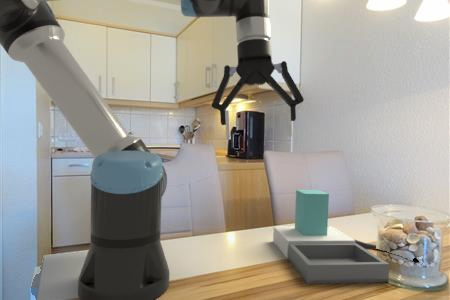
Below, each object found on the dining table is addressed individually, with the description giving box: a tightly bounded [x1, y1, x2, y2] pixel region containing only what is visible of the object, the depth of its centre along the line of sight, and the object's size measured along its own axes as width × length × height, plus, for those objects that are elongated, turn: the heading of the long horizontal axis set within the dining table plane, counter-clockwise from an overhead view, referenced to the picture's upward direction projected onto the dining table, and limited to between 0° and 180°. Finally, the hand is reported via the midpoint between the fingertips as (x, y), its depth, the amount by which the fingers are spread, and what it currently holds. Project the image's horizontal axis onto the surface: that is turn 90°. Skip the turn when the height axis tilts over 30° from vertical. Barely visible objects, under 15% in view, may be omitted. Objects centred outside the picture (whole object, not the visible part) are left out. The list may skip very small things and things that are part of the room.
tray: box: [287, 243, 390, 285], centre depth 66 cm, size 16×12×4 cm
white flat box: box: [272, 225, 356, 260], centre depth 78 cm, size 16×12×4 cm
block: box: [294, 189, 330, 235], centre depth 79 cm, size 6×6×10 cm
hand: (258, 138), depth 72 cm, fingers open, 13 cm apart
